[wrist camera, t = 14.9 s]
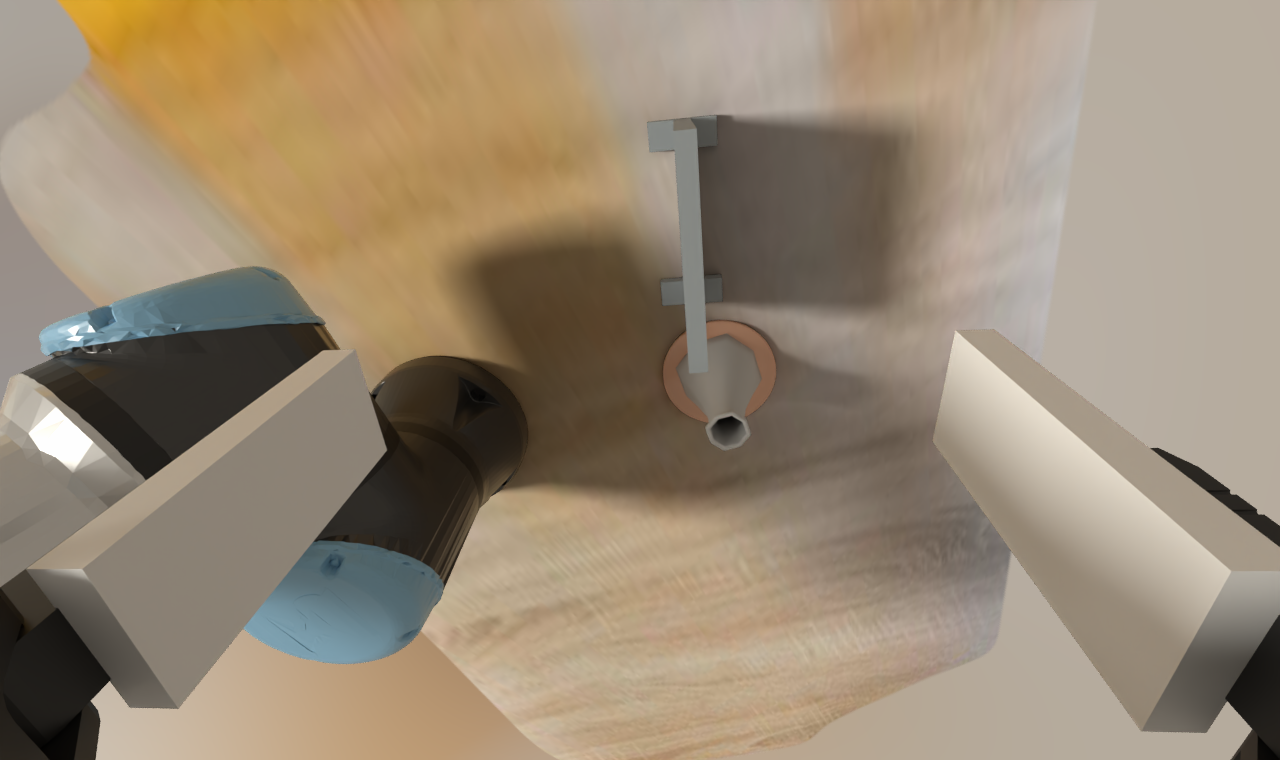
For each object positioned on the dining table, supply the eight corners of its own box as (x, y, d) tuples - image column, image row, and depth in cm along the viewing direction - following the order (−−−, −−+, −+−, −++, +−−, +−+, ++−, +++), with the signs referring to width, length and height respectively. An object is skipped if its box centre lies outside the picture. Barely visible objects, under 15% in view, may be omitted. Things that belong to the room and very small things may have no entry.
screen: (662, 301, 48) (659, 375, 36) (647, 122, 42) (636, 134, 29) (721, 297, 48) (739, 370, 35) (715, 114, 41) (734, 124, 29)
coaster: (667, 422, 53) (667, 426, 53) (658, 324, 49) (658, 326, 48) (774, 416, 53) (775, 420, 52) (775, 315, 48) (777, 318, 48)
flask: (709, 421, 52) (716, 488, 44) (661, 364, 50) (658, 423, 41) (775, 378, 50) (798, 440, 41) (728, 318, 48) (741, 369, 39)
